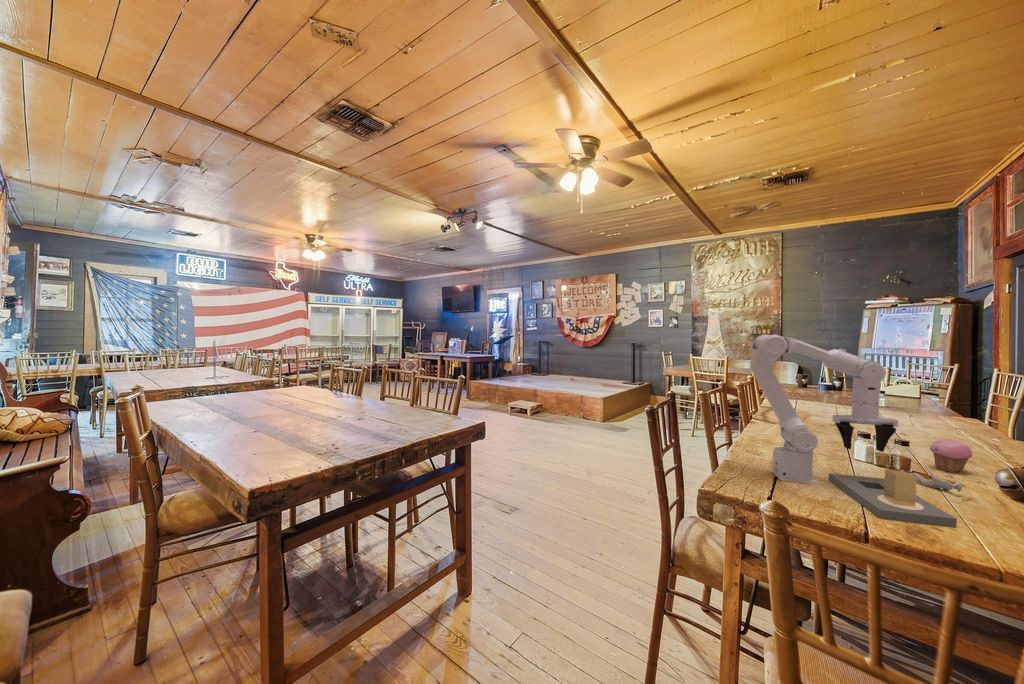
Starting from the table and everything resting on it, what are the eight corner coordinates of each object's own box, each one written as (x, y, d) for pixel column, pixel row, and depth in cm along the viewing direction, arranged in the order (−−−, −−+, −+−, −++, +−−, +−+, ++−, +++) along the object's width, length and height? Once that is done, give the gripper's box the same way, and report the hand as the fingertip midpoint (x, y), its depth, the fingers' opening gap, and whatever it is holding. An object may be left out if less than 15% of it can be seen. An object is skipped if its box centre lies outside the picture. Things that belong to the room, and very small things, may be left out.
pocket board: (879, 520, 91) (879, 508, 91) (828, 481, 114) (829, 472, 114) (956, 529, 87) (956, 517, 87) (887, 487, 110) (888, 478, 110)
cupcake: (947, 465, 129) (949, 435, 128) (980, 475, 120) (981, 443, 120) (921, 465, 128) (923, 435, 128) (952, 475, 120) (954, 443, 119)
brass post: (894, 504, 94) (895, 475, 93) (883, 497, 98) (884, 469, 97) (915, 506, 93) (916, 477, 92) (903, 499, 96) (904, 471, 96)
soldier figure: (913, 482, 117) (969, 483, 107) (911, 496, 115) (969, 499, 104) (897, 465, 116) (953, 465, 106) (895, 478, 114) (952, 480, 104)
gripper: (842, 403, 109) (840, 450, 110) (906, 406, 105) (904, 456, 106) (829, 398, 116) (828, 443, 116) (889, 401, 112) (887, 448, 112)
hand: (863, 449), depth 111 cm, fingers open, 7 cm apart
